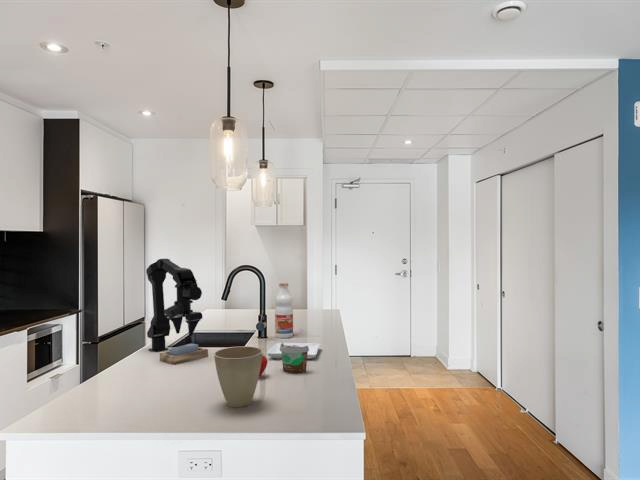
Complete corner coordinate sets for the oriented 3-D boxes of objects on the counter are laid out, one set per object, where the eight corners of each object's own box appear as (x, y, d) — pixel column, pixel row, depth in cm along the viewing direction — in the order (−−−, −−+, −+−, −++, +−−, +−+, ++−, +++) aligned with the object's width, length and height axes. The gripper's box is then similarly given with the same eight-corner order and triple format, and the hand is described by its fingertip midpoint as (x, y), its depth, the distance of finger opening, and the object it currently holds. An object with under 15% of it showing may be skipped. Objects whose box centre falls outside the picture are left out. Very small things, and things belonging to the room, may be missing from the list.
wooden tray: (159, 361, 194) (159, 353, 194) (193, 353, 208) (193, 346, 208) (174, 364, 188) (174, 357, 188) (208, 356, 201) (207, 349, 201)
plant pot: (211, 398, 146) (210, 348, 146) (257, 392, 152) (256, 344, 152) (218, 415, 132) (217, 360, 132) (268, 408, 138) (267, 354, 138)
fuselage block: (191, 352, 204) (191, 343, 204) (198, 353, 202) (198, 344, 202) (169, 358, 194) (169, 348, 194) (176, 359, 191) (176, 350, 191)
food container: (273, 372, 176) (273, 345, 176) (282, 368, 181) (281, 342, 181) (301, 376, 170) (301, 349, 170) (309, 371, 175) (309, 345, 175)
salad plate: (321, 349, 212) (321, 342, 212) (316, 362, 191) (316, 353, 191) (276, 349, 214) (276, 342, 214) (266, 361, 193) (266, 353, 193)
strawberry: (269, 374, 173) (269, 347, 173) (264, 380, 165) (264, 352, 165) (254, 373, 173) (254, 347, 173) (248, 379, 166) (248, 352, 166)
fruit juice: (288, 334, 247) (288, 282, 247) (296, 337, 239) (295, 283, 239) (272, 336, 243) (271, 283, 243) (279, 339, 234) (278, 284, 235)
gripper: (154, 299, 197) (155, 335, 197) (180, 302, 186) (180, 340, 185) (177, 296, 206) (177, 331, 206) (202, 299, 194) (203, 336, 194)
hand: (184, 334), depth 198 cm, fingers open, 9 cm apart
